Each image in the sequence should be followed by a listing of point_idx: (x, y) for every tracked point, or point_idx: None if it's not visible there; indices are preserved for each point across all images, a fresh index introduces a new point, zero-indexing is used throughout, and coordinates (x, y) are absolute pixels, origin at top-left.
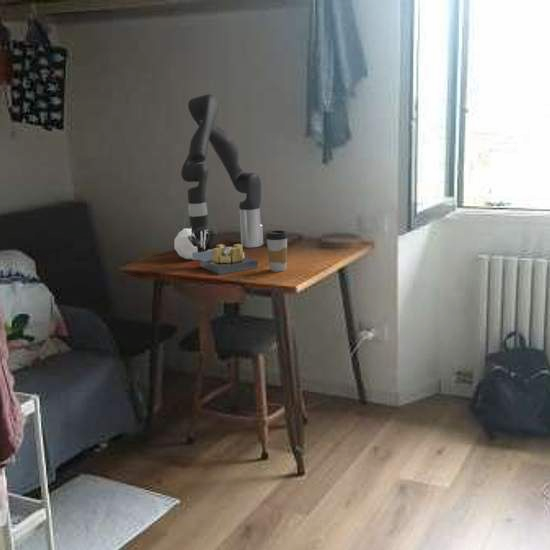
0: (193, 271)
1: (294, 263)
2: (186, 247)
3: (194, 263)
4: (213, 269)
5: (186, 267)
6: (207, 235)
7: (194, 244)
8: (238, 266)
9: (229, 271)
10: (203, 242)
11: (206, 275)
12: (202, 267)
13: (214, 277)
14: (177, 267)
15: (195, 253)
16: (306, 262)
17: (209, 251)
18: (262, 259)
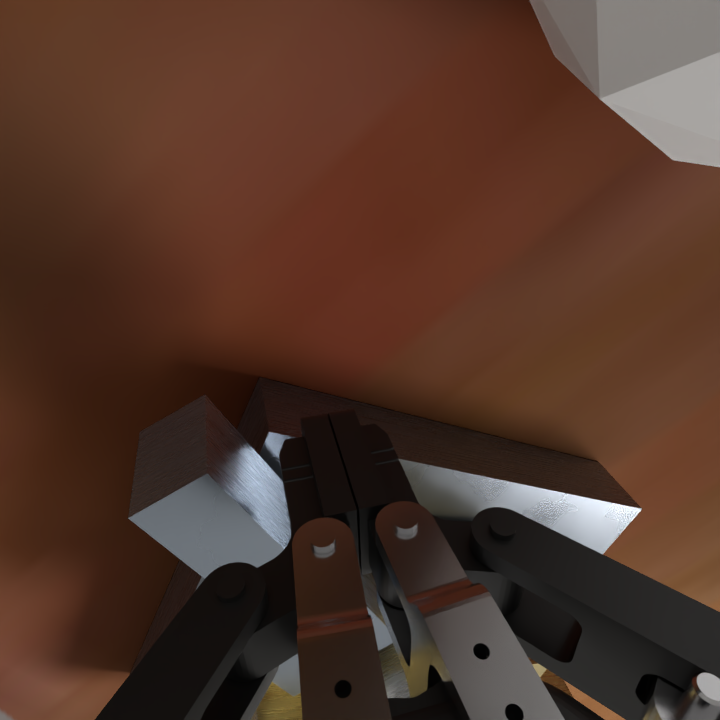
0: (43, 463)
1: (578, 699)
2: None
3: (377, 166)
4: (160, 625)
5: (132, 241)
6: (627, 705)
7: (211, 630)
8: None
9: None
10: (401, 652)
11: (28, 641)
12: (244, 413)
13: (32, 709)
14: (33, 104)
15: (166, 535)
16: (606, 710)
17: (272, 681)
18: (656, 549)
